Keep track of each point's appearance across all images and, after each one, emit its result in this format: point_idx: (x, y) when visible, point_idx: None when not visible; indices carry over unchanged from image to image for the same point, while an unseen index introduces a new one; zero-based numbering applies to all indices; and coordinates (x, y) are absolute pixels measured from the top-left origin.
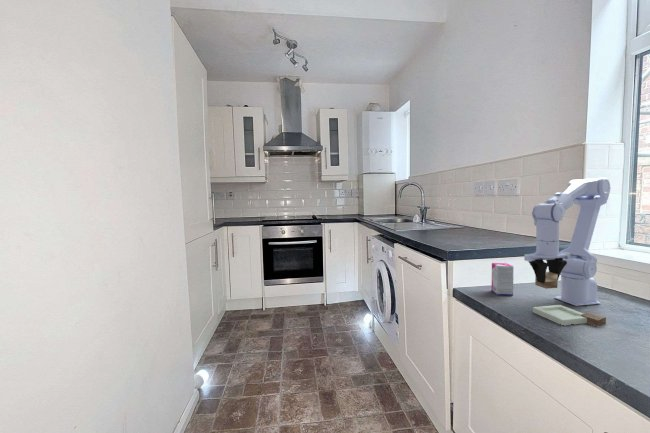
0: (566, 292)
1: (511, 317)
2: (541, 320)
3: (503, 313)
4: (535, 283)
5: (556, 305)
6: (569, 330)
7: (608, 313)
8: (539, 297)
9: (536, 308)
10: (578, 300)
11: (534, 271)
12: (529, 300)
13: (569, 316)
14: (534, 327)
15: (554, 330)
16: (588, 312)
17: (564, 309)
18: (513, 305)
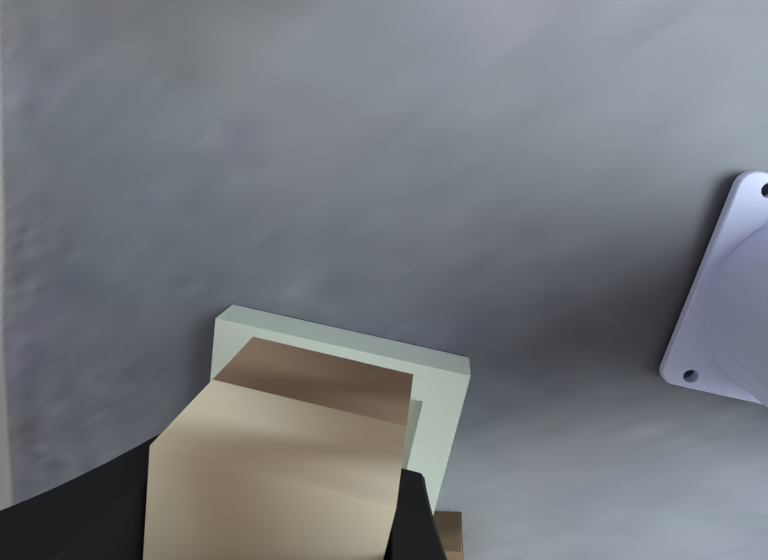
0: (759, 324)
1: (27, 303)
2: (167, 408)
3: (22, 234)
4: (245, 346)
5: (424, 373)
6: None
7: (691, 530)
8: (642, 86)
9: (220, 345)
10: (739, 383)
11: (51, 498)
12: (458, 110)
13: None
14: (52, 444)
15: None
16: (447, 555)
17: (417, 423)
18: (212, 146)
